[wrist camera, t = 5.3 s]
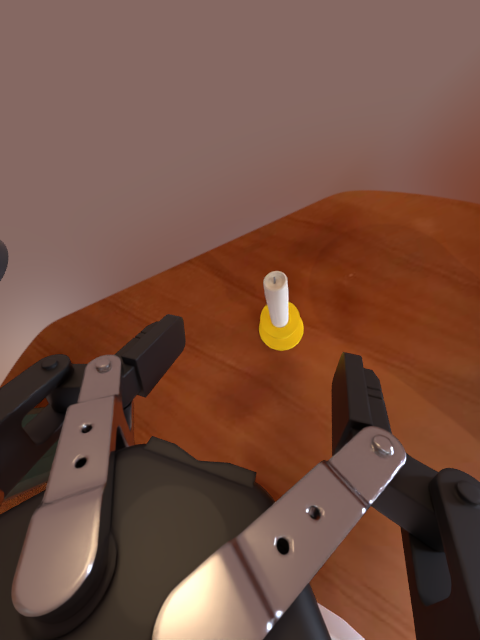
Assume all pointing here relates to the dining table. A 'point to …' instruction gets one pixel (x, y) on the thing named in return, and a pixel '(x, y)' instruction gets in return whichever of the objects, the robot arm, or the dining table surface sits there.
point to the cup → (39, 470)
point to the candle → (279, 315)
